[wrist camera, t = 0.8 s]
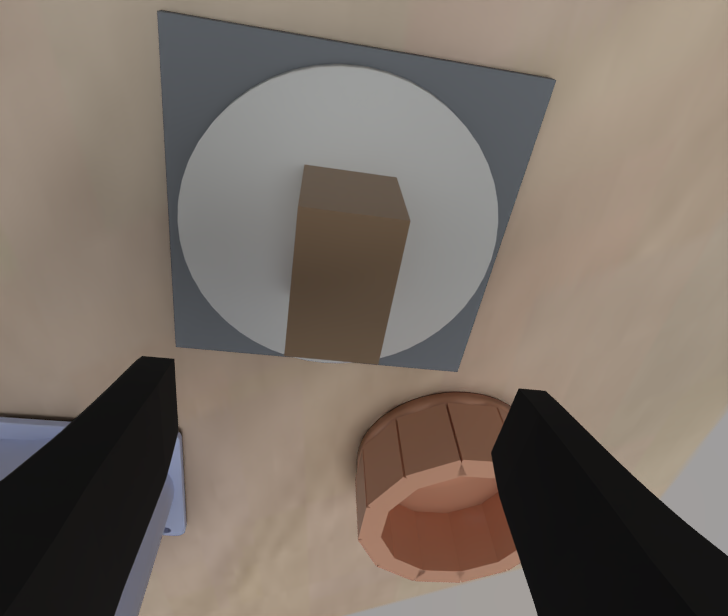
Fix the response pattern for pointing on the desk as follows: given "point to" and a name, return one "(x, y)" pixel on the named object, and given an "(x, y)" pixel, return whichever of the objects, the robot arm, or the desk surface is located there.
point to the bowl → (434, 490)
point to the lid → (337, 214)
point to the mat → (292, 51)
